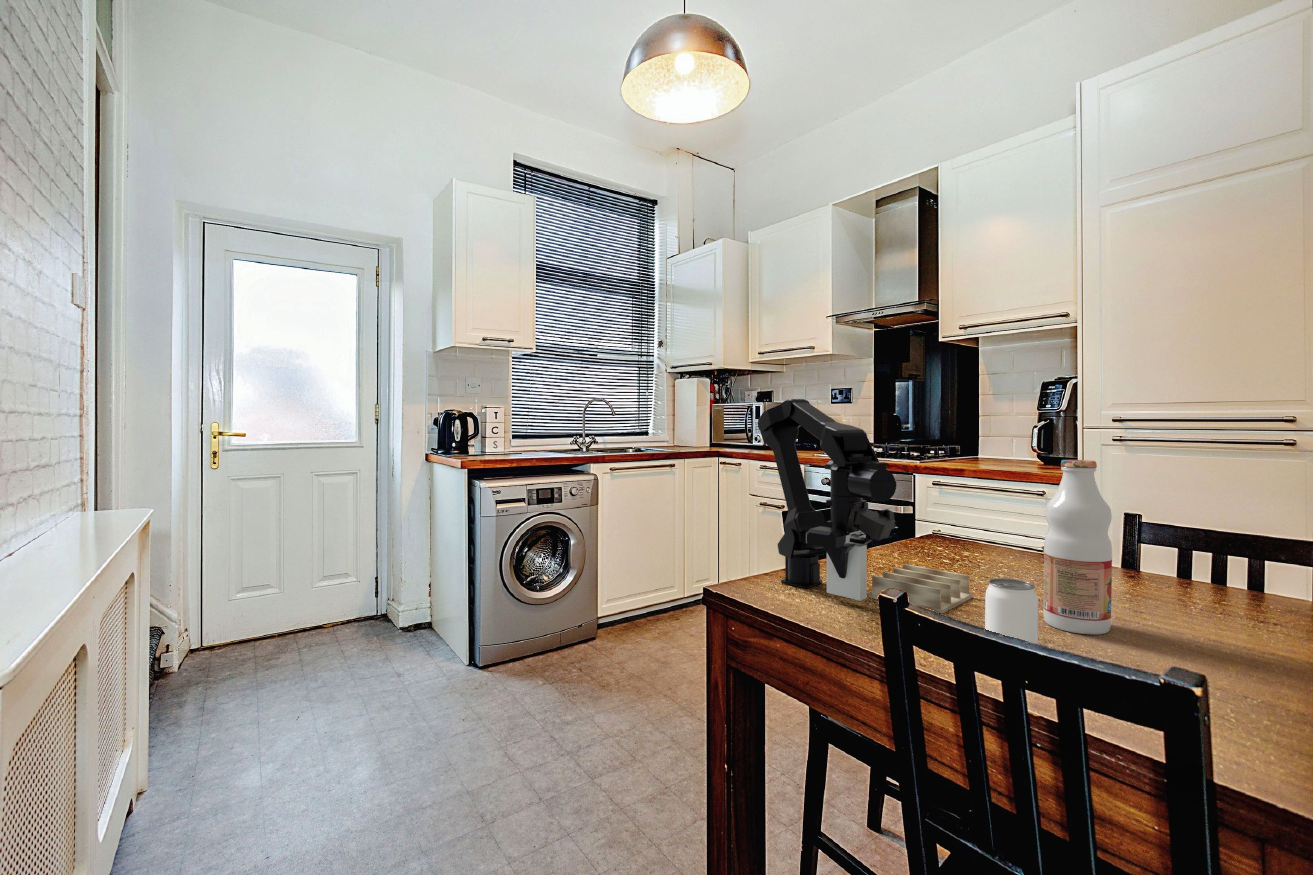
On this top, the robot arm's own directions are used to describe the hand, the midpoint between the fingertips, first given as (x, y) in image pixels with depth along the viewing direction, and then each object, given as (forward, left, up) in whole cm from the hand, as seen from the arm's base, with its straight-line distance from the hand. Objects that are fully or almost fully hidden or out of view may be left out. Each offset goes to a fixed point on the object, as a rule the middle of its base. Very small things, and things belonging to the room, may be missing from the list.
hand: (846, 576), depth 114 cm
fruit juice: (+33, +17, -6) cm, 38 cm away
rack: (+8, +14, -5) cm, 17 cm away
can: (+31, -9, -6) cm, 33 cm away
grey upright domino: (0, 0, -4) cm, 4 cm away
